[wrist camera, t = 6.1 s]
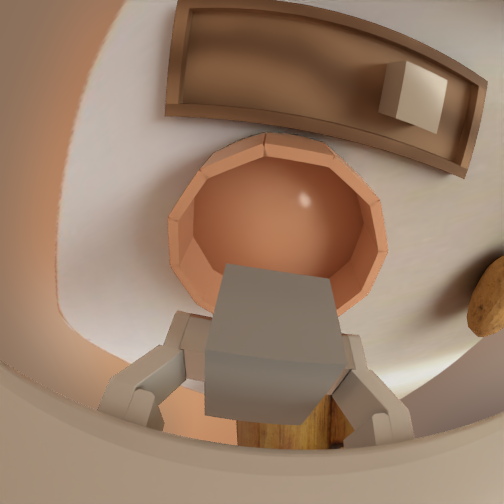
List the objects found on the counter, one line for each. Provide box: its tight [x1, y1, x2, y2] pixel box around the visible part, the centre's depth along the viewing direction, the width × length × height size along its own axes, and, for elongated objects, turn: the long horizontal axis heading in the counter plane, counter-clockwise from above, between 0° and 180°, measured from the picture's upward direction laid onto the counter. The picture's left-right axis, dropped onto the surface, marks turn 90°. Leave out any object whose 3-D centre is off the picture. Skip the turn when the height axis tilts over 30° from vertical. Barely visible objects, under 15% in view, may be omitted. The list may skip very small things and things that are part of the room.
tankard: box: [236, 394, 355, 450], centre depth 28 cm, size 18×24×25 cm
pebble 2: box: [378, 61, 448, 134], centre depth 15 cm, size 4×4×4 cm
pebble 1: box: [205, 263, 347, 425], centre depth 9 cm, size 4×4×4 cm
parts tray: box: [165, 0, 488, 179], centre depth 16 cm, size 10×26×2 cm, turn 83°
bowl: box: [168, 132, 388, 317], centre depth 23 cm, size 17×17×6 cm
